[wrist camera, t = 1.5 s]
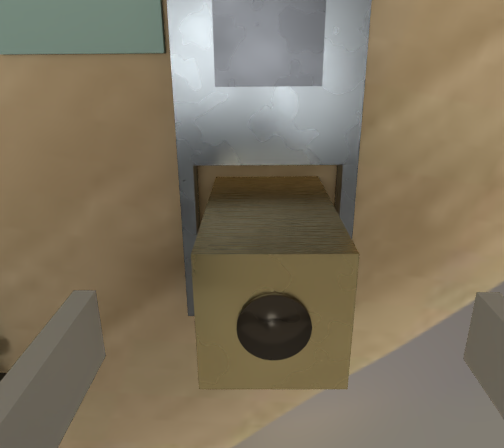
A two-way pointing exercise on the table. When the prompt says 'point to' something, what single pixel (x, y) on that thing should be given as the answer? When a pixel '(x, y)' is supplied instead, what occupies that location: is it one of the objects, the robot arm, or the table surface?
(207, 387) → the wooden speaker box
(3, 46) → the translucent green panel
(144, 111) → the table surface
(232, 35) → the rail
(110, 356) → the table surface
